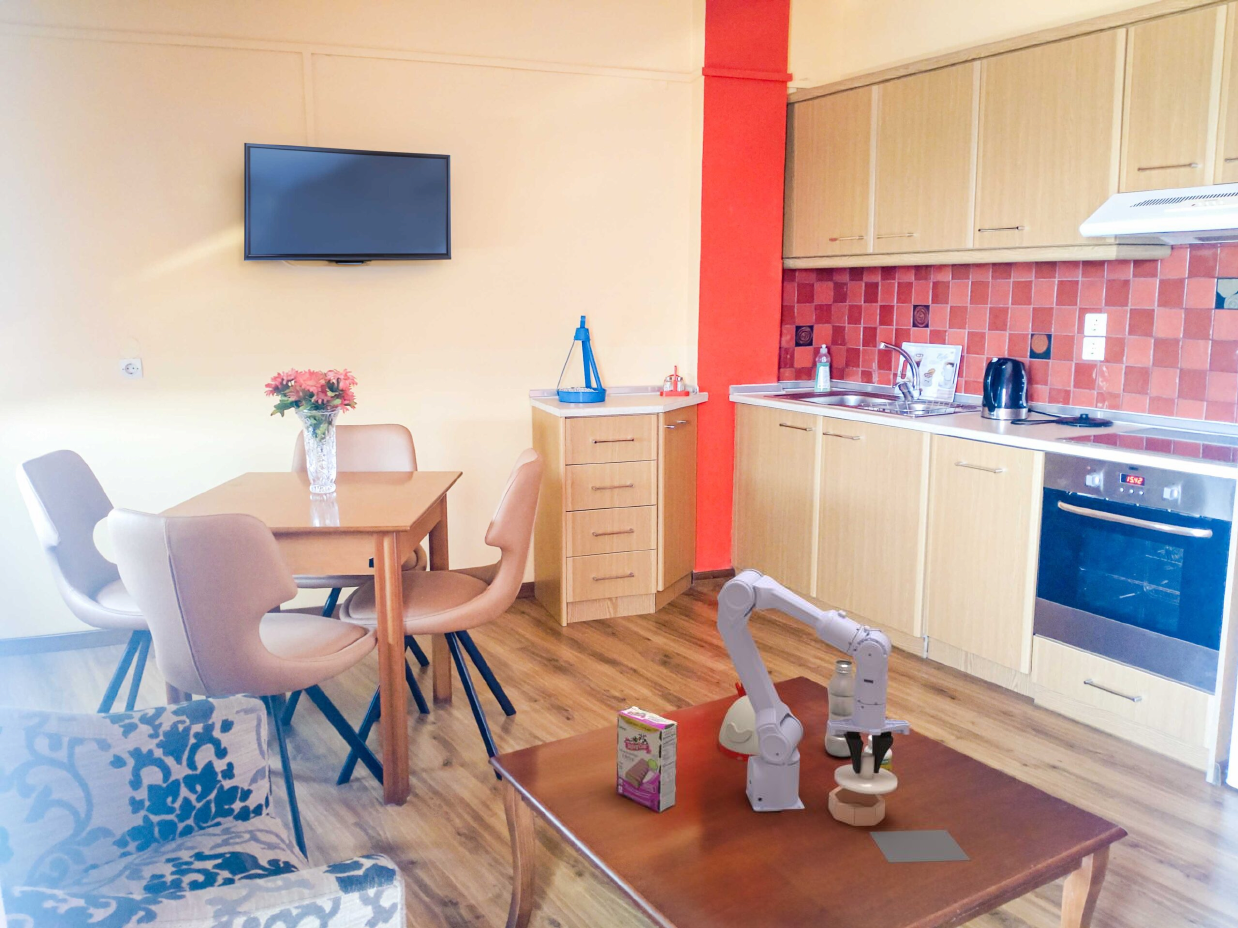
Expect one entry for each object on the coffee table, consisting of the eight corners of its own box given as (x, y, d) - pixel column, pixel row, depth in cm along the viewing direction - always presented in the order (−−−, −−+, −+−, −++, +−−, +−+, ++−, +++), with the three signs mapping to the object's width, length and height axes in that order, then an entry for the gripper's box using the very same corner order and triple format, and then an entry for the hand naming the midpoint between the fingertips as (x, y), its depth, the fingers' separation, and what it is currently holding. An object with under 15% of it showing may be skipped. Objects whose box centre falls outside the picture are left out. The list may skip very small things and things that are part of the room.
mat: (888, 865, 161) (888, 862, 161) (868, 834, 171) (868, 831, 171) (970, 863, 162) (970, 859, 162) (945, 832, 172) (946, 829, 172)
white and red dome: (738, 729, 216) (740, 664, 214) (795, 745, 208) (798, 678, 206) (706, 750, 205) (708, 682, 203) (765, 768, 197) (767, 697, 195)
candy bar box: (614, 794, 185) (615, 711, 183) (632, 785, 189) (633, 704, 186) (659, 814, 177) (661, 728, 175) (676, 805, 181) (678, 720, 179)
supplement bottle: (875, 775, 194) (877, 730, 193) (896, 786, 190) (899, 739, 189) (856, 782, 191) (858, 736, 190) (877, 793, 187) (880, 745, 186)
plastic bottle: (860, 752, 205) (864, 660, 203) (849, 763, 200) (853, 670, 197) (830, 744, 209) (835, 655, 206) (819, 756, 203) (823, 663, 200)
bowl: (838, 828, 173) (839, 810, 173) (823, 803, 182) (824, 786, 182) (889, 827, 174) (890, 809, 173) (872, 802, 183) (873, 784, 183)
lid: (848, 795, 169) (849, 768, 169) (825, 769, 180) (826, 744, 179) (907, 792, 171) (909, 766, 170) (881, 766, 182) (882, 742, 181)
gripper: (836, 707, 169) (832, 781, 171) (917, 707, 170) (912, 780, 172) (825, 692, 176) (821, 763, 178) (903, 692, 177) (898, 763, 179)
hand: (865, 770), depth 175 cm, fingers closed on lid, 3 cm apart
